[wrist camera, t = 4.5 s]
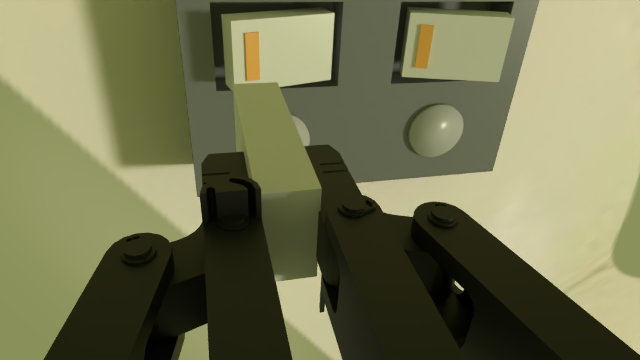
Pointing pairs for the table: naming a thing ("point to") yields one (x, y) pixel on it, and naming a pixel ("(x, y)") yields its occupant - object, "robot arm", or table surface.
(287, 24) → the pale rectangular block
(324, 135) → the switch panel
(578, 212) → the table surface
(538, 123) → the table surface
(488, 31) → the rocker
